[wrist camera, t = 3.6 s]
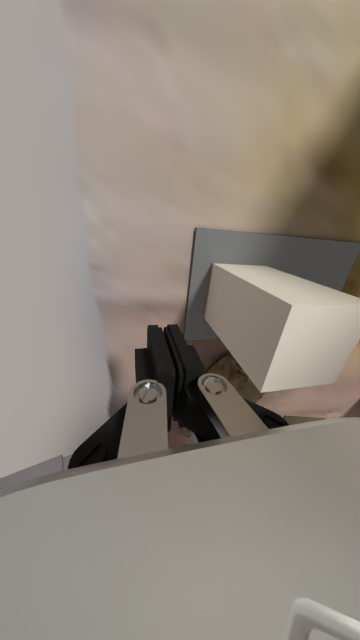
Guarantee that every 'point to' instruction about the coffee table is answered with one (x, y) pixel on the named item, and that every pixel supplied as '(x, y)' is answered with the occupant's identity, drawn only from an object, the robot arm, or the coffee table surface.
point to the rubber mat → (262, 249)
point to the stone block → (233, 381)
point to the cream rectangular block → (281, 325)
